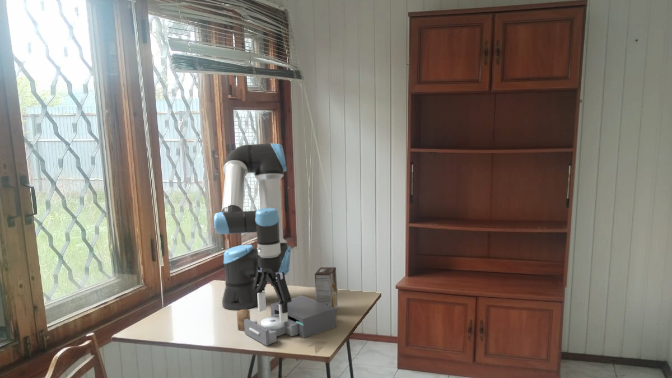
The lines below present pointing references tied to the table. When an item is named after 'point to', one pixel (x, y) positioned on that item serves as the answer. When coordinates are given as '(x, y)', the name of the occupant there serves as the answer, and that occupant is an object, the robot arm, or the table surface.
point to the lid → (272, 323)
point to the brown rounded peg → (242, 318)
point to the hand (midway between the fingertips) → (272, 316)
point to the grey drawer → (269, 331)
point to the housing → (309, 315)
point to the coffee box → (326, 286)
